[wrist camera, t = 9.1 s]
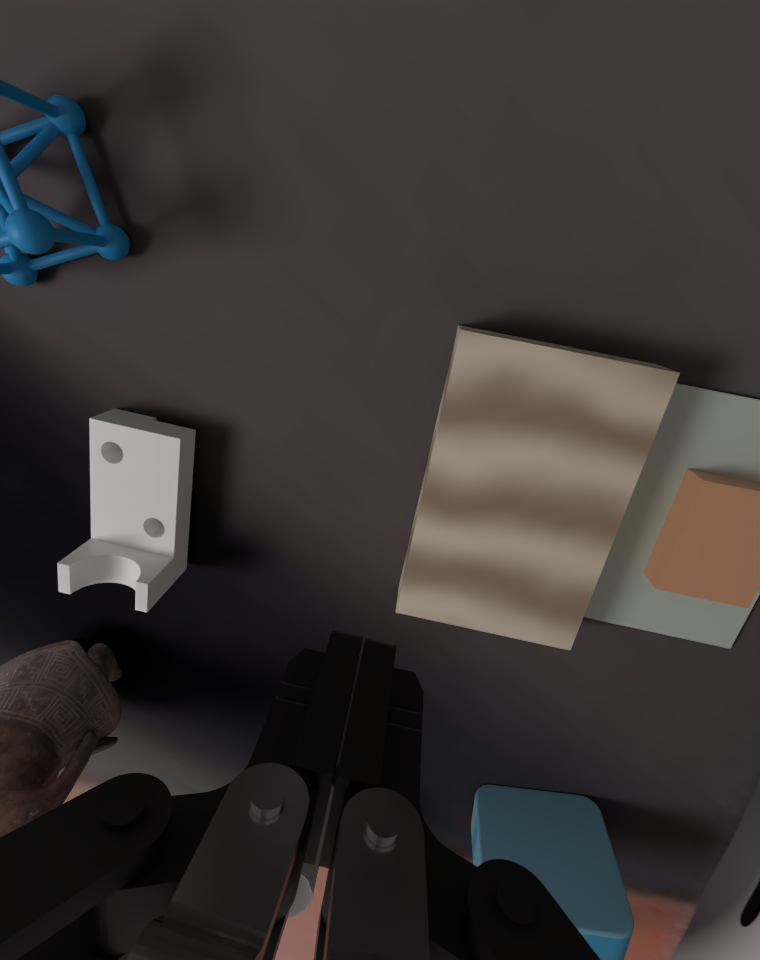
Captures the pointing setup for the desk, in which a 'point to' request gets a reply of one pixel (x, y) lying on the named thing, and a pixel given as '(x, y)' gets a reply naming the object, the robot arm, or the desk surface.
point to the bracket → (135, 507)
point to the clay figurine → (52, 724)
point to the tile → (710, 540)
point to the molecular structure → (21, 219)
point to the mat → (677, 446)
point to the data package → (558, 857)
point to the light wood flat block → (527, 483)
